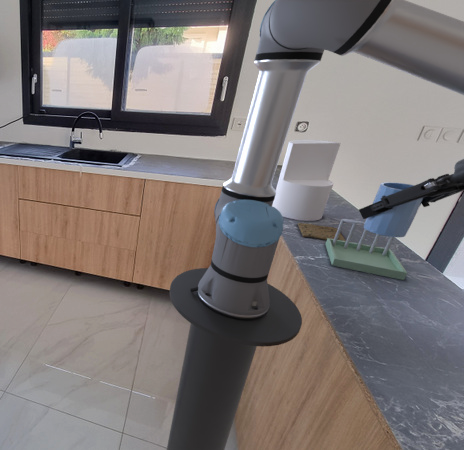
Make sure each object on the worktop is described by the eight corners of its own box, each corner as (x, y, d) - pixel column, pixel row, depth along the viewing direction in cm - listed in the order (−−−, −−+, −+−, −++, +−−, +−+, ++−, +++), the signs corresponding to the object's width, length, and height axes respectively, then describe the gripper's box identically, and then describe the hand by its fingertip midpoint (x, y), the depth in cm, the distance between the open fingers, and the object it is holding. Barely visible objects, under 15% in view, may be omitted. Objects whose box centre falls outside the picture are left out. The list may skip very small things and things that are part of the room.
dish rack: (331, 265, 90) (344, 233, 86) (325, 244, 102) (335, 215, 98) (403, 280, 83) (421, 246, 79) (387, 255, 94) (402, 225, 90)
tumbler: (366, 233, 80) (385, 188, 75) (360, 222, 86) (377, 180, 81) (410, 240, 76) (432, 193, 71) (400, 228, 82) (420, 184, 77)
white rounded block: (262, 205, 136) (279, 140, 124) (303, 205, 135) (323, 139, 123) (286, 220, 120) (308, 147, 108) (332, 220, 119) (360, 147, 108)
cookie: (347, 243, 102) (348, 240, 101) (302, 236, 107) (303, 234, 107) (337, 229, 112) (338, 227, 111) (297, 223, 117) (297, 221, 116)
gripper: (468, 187, 59) (350, 229, 80) (545, 179, 62) (413, 221, 83) (444, 153, 61) (336, 203, 82) (520, 147, 65) (398, 196, 86)
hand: (375, 212), depth 83 cm, fingers closed on tumbler, 8 cm apart
